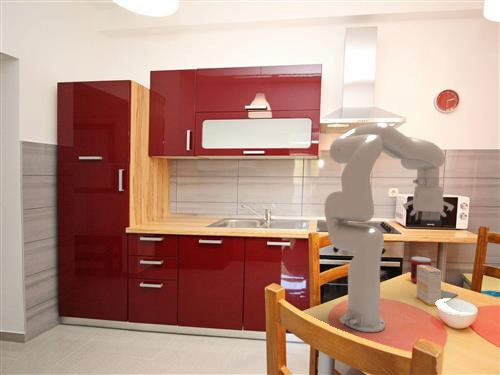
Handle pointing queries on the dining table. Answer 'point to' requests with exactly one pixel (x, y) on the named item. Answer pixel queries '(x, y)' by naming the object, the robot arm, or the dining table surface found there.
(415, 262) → the canned food
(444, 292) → the grey rubber mat
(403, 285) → the dining table surface
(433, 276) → the supplement box
